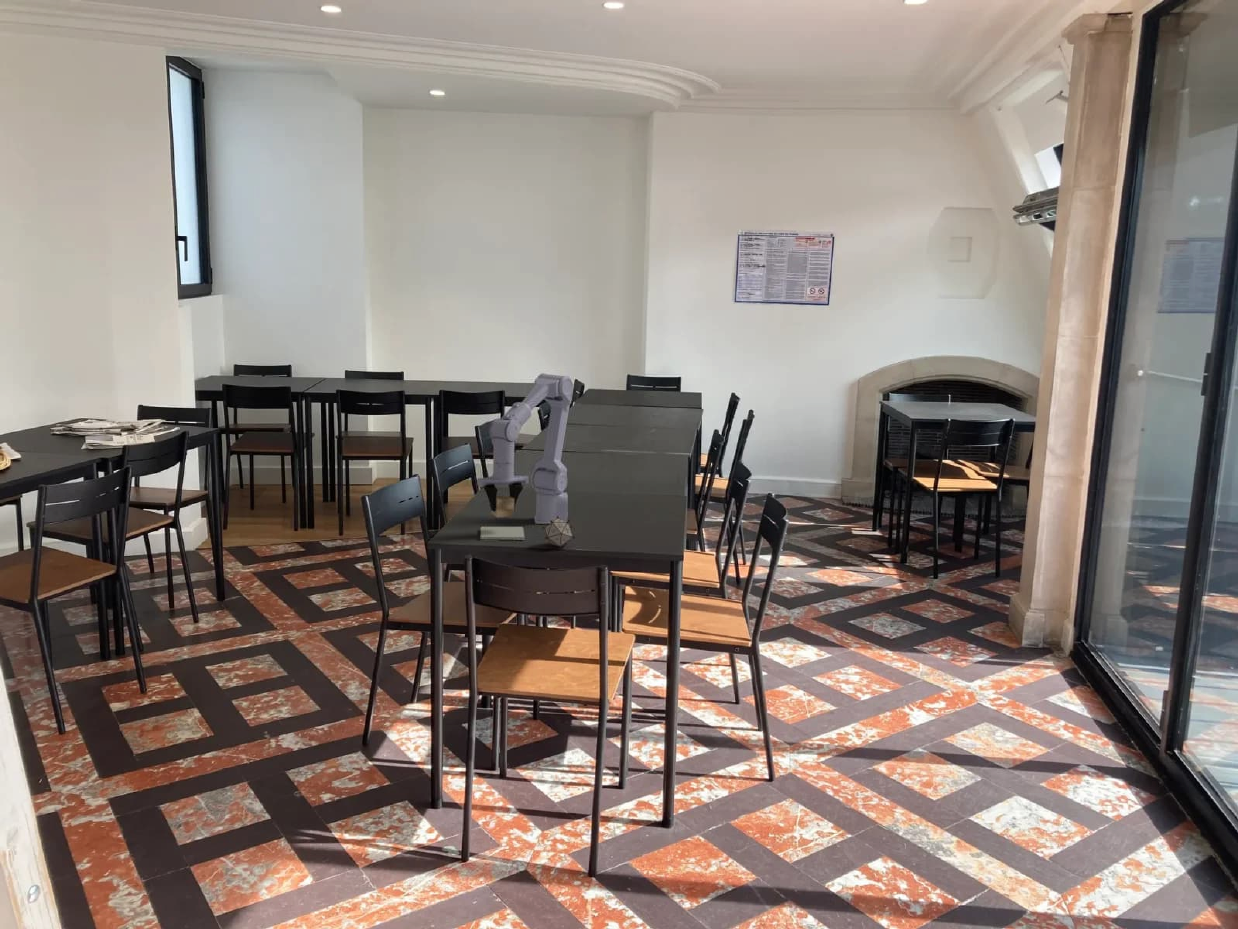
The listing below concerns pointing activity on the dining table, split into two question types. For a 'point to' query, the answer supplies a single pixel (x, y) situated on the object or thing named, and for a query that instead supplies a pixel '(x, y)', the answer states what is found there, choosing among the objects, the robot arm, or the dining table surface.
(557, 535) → the game die
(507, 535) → the sage tile
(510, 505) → the maple block
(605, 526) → the dining table surface
